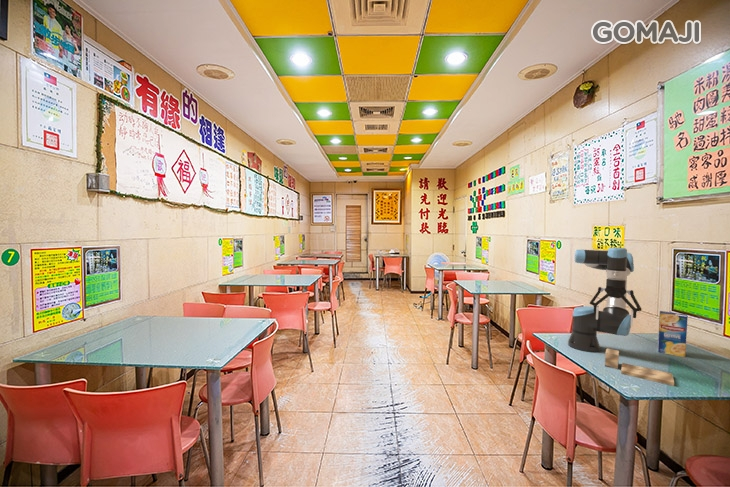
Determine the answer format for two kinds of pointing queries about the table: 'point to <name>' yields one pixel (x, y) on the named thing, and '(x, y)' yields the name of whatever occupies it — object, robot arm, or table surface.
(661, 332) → the blue food box
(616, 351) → the block
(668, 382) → the board
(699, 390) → the table surface
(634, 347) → the table surface
